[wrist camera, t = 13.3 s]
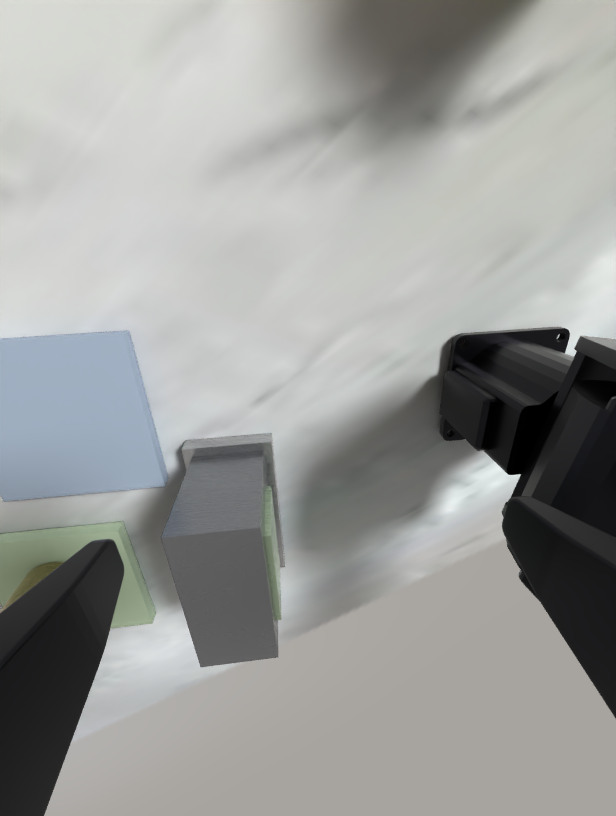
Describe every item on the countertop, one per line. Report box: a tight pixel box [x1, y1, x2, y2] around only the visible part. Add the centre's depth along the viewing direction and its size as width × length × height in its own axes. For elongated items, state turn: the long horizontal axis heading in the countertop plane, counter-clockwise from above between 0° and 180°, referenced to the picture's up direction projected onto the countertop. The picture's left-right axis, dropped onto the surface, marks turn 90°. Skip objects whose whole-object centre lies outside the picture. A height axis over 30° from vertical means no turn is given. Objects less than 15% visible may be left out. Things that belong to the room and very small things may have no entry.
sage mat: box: [0, 522, 156, 628], centre depth 23 cm, size 9×9×1 cm
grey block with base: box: [161, 433, 285, 667], centre depth 19 cm, size 5×10×7 cm, turn 3°
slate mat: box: [0, 331, 168, 501], centre depth 18 cm, size 9×9×1 cm
